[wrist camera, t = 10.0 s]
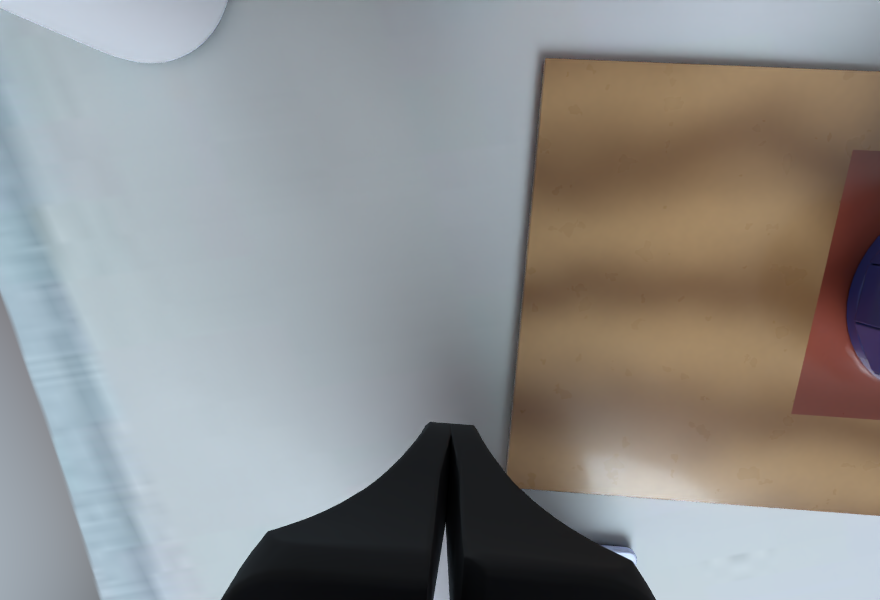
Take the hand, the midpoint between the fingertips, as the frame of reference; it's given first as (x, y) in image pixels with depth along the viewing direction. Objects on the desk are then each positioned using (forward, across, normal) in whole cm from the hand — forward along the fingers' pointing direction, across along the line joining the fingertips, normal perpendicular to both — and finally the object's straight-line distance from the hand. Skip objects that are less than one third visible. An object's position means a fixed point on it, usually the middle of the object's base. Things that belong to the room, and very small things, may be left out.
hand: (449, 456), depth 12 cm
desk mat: (+9, -16, -3) cm, 18 cm away
